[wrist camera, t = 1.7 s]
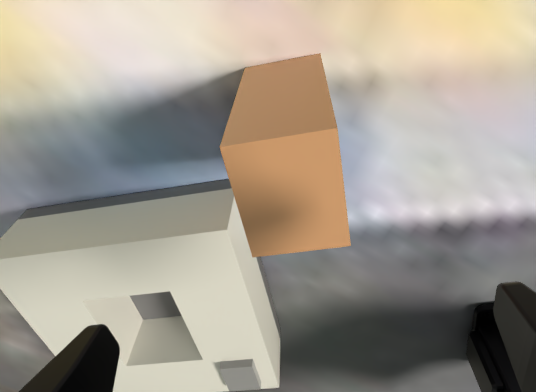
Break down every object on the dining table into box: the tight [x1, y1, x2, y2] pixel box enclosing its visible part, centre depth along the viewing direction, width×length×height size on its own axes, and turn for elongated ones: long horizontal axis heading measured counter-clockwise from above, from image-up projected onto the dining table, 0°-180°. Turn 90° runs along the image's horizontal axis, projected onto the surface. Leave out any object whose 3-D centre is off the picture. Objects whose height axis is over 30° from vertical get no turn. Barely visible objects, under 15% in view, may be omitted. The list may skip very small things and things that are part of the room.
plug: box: [220, 53, 351, 257], centre depth 16 cm, size 4×4×8 cm
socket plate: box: [0, 179, 281, 392], centre depth 24 cm, size 13×13×5 cm
